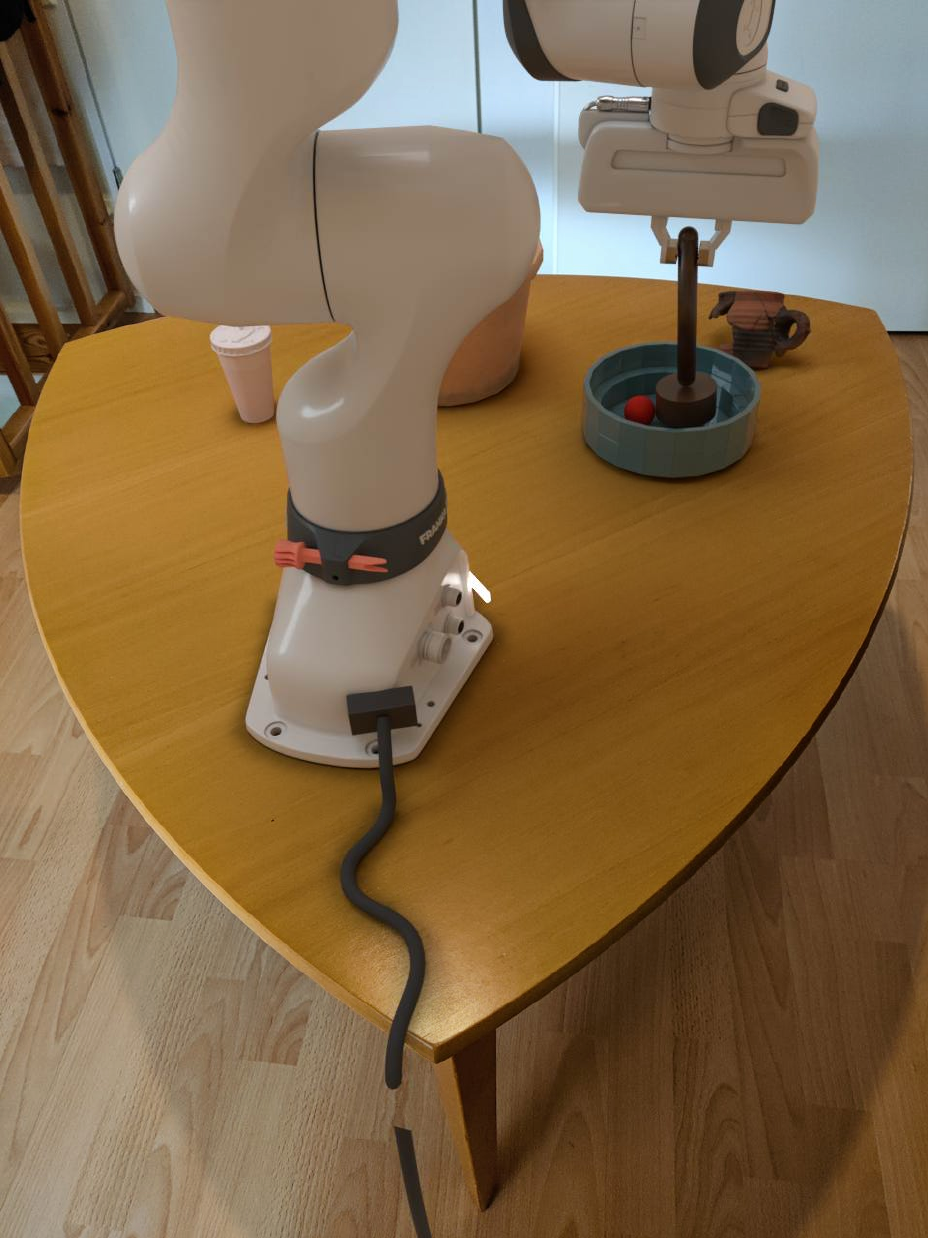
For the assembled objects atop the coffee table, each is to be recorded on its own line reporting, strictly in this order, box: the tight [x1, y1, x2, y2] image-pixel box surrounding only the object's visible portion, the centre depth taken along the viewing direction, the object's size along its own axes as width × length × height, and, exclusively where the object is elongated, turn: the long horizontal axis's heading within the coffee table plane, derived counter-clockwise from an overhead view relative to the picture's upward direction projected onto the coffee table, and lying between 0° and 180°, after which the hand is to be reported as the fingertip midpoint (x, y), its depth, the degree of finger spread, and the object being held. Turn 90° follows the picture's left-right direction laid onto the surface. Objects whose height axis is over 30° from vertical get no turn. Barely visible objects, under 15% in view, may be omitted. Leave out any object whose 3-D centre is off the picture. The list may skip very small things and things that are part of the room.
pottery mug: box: [708, 290, 812, 369], centre depth 113 cm, size 12×10×8 cm
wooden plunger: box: [656, 225, 717, 428], centre depth 95 cm, size 6×6×19 cm
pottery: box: [437, 238, 545, 407], centre depth 110 cm, size 22×22×14 cm
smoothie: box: [209, 325, 275, 424], centre depth 105 cm, size 6×6×14 cm
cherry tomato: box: [624, 396, 656, 425], centre depth 102 cm, size 3×3×3 cm
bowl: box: [581, 340, 762, 479], centre depth 101 cm, size 17×17×6 cm
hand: (687, 262), depth 91 cm, fingers closed on wooden plunger
